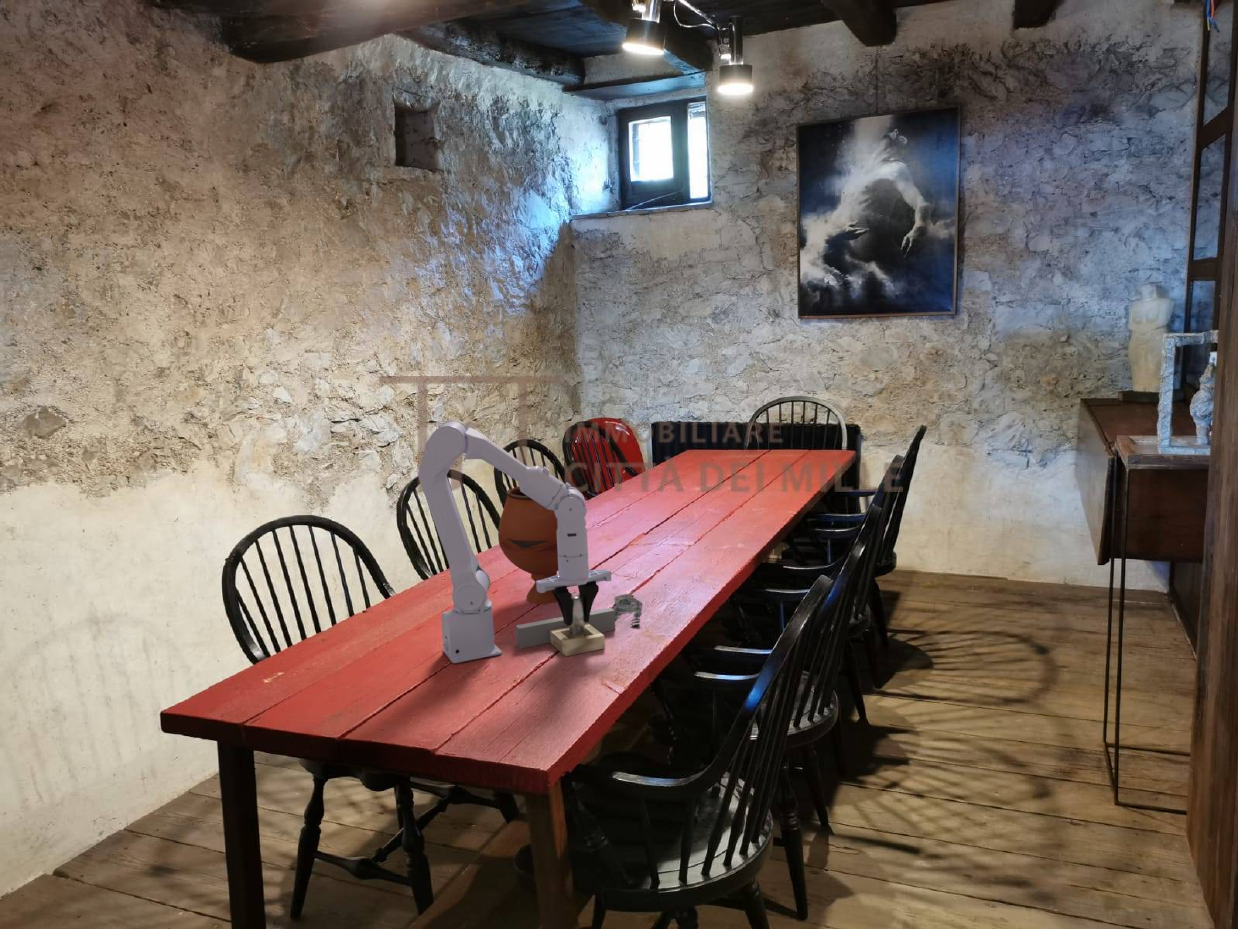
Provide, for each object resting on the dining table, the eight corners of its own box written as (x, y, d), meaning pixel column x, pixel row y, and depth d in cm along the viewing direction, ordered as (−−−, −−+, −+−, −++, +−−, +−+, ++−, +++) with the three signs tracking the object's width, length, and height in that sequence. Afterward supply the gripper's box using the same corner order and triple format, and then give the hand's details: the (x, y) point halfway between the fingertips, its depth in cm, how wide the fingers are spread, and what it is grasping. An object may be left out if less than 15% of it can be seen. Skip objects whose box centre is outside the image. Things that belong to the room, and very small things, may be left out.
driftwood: (615, 598, 205) (614, 589, 205) (645, 597, 205) (645, 588, 204) (606, 632, 185) (606, 622, 184) (640, 632, 184) (639, 622, 184)
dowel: (572, 636, 173) (570, 600, 172) (567, 631, 176) (565, 596, 175) (587, 633, 174) (585, 598, 173) (582, 628, 177) (580, 593, 176)
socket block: (565, 656, 170) (564, 643, 170) (550, 642, 177) (549, 630, 177) (604, 648, 174) (604, 635, 173) (588, 635, 181) (587, 623, 180)
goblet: (486, 607, 200) (479, 496, 196) (527, 582, 218) (521, 479, 213) (566, 615, 193) (560, 499, 189) (601, 588, 211) (596, 481, 206)
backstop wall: (520, 648, 175) (519, 628, 175) (517, 645, 177) (515, 625, 176) (615, 629, 184) (614, 610, 183) (611, 626, 185) (610, 607, 185)
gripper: (543, 564, 166) (548, 635, 168) (616, 552, 172) (619, 621, 174) (530, 555, 172) (535, 624, 174) (601, 544, 178) (604, 611, 180)
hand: (576, 622), depth 175 cm, fingers closed on dowel, 3 cm apart
